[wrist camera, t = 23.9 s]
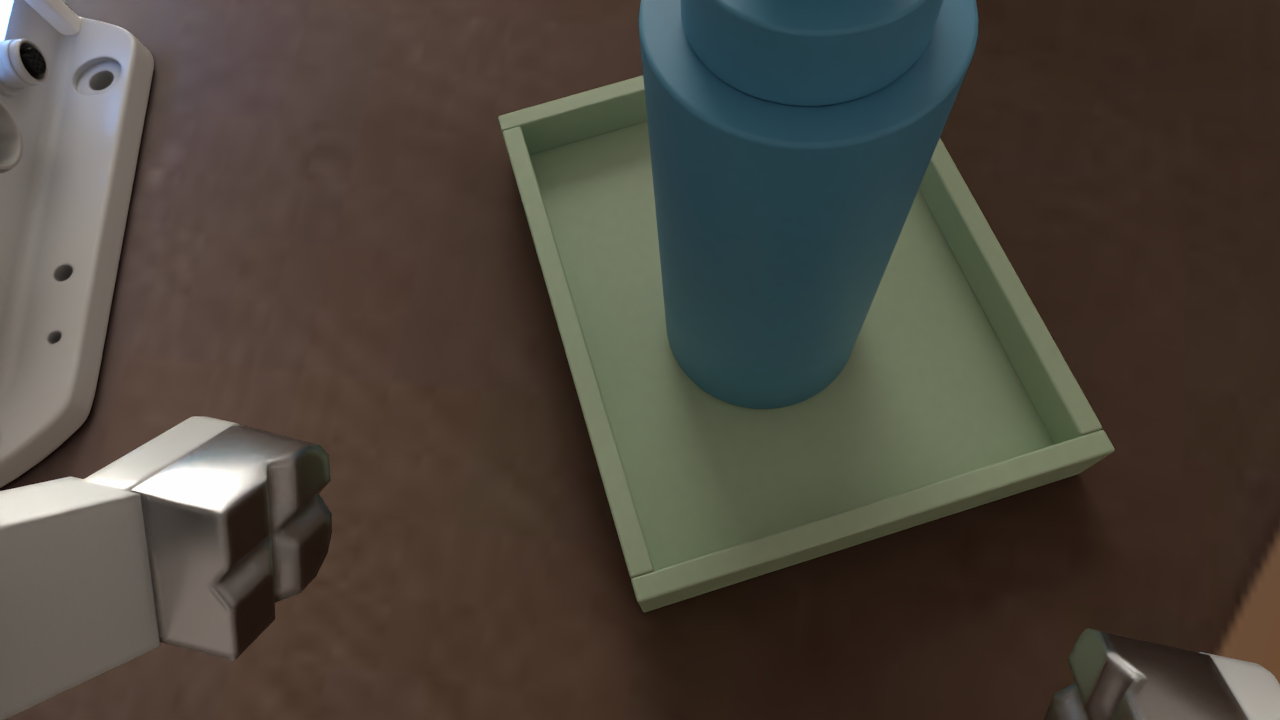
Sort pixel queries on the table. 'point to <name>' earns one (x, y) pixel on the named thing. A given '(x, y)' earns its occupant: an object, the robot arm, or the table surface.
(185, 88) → the table surface
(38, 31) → the robot arm
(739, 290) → the bottle
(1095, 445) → the tray
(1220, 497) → the table surface
